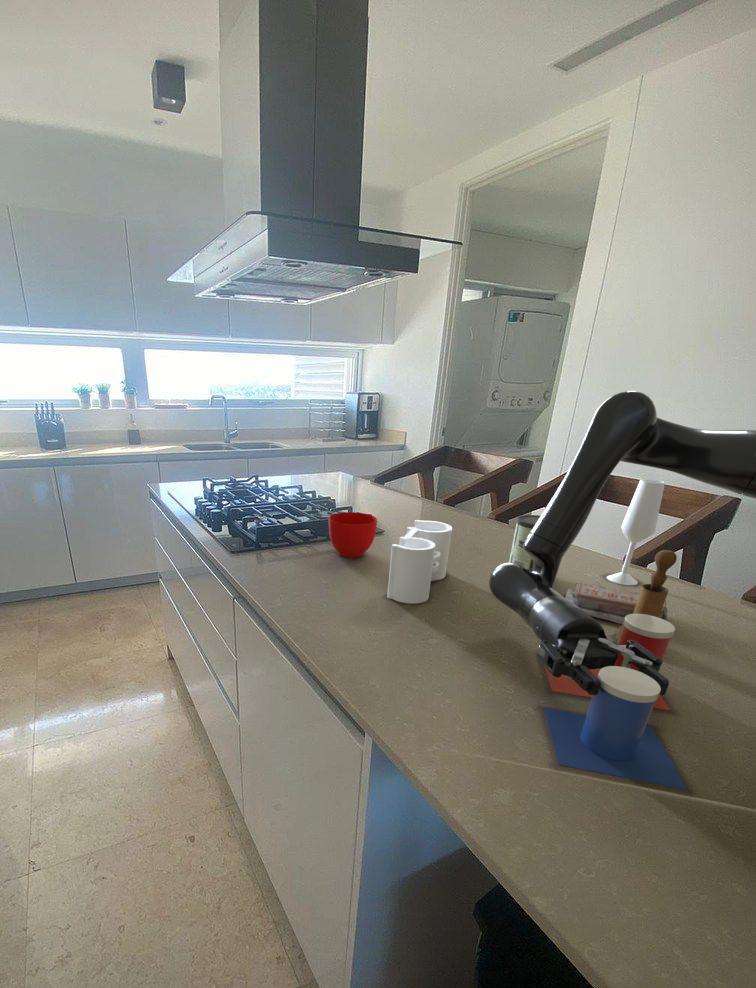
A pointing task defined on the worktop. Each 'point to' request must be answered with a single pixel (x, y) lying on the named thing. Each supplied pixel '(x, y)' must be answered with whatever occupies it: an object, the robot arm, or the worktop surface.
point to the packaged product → (606, 602)
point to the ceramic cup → (352, 532)
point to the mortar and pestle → (655, 587)
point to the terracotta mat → (573, 688)
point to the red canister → (646, 634)
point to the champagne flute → (639, 522)
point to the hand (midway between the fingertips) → (630, 689)
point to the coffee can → (521, 533)
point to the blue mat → (643, 766)
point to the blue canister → (619, 712)
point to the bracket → (418, 561)
